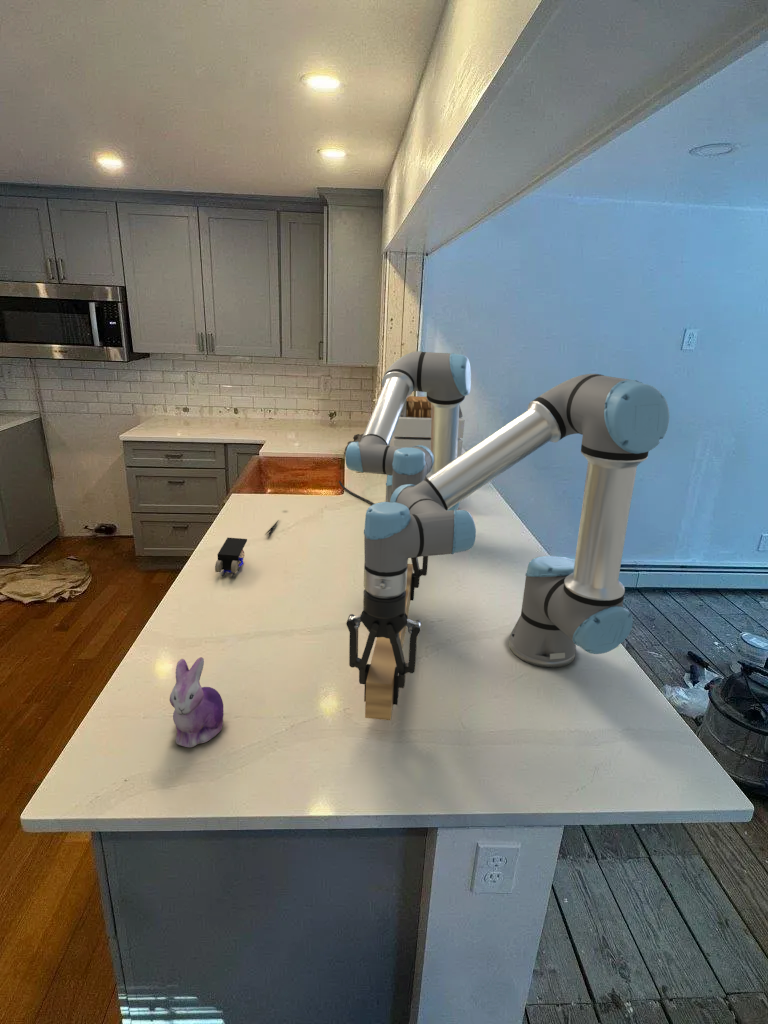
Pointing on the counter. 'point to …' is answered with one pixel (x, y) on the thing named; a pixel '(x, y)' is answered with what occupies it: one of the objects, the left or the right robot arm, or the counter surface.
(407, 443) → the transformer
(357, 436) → the fossil
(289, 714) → the counter surface
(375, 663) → the post
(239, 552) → the black boxy wheeled piece
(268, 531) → the feather
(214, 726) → the figurine
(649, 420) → the right robot arm
